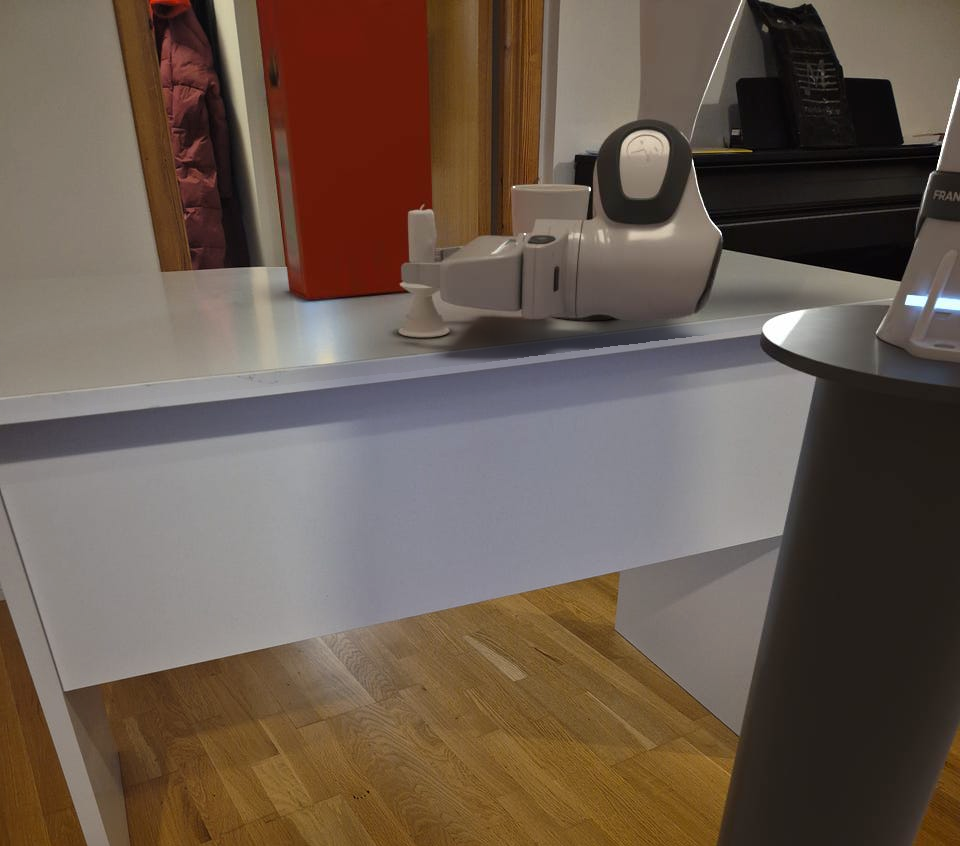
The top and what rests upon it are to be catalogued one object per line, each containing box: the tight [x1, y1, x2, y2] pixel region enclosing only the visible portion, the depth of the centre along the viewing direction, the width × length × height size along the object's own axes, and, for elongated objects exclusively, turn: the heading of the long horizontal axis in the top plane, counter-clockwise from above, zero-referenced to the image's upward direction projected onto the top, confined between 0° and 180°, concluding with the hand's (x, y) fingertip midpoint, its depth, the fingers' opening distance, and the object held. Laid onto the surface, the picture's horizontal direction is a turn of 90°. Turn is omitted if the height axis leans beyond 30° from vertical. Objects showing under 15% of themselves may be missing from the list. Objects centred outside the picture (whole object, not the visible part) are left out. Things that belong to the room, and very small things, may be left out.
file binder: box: [255, 0, 434, 301], centre depth 101 cm, size 8×17×32 cm, turn 118°
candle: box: [398, 204, 450, 338], centre depth 85 cm, size 5×5×12 cm
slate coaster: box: [554, 314, 615, 322], centre depth 97 cm, size 9×9×1 cm
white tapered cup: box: [510, 183, 591, 237], centre depth 106 cm, size 10×10×12 cm
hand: (414, 264), depth 85 cm, fingers open, 8 cm apart
